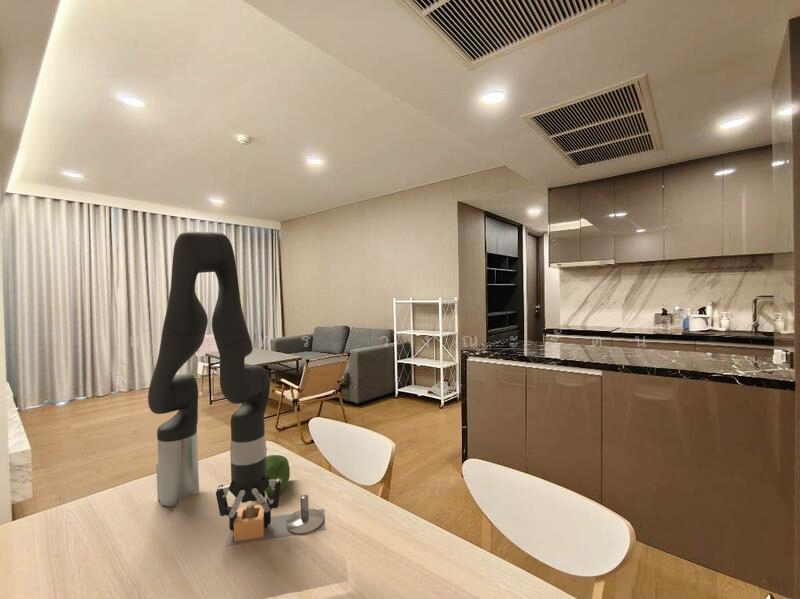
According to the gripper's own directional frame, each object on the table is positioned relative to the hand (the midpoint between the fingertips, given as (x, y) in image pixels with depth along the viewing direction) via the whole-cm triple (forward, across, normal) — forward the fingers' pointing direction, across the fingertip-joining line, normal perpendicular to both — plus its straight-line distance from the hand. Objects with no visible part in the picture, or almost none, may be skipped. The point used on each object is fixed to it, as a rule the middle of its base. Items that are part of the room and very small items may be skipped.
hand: (251, 527), depth 84 cm
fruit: (+2, +3, +18) cm, 19 cm away
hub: (+1, +12, 0) cm, 12 cm away
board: (+2, +6, 0) cm, 6 cm away
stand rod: (+1, 0, 0) cm, 1 cm away
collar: (+1, 0, 0) cm, 1 cm away
